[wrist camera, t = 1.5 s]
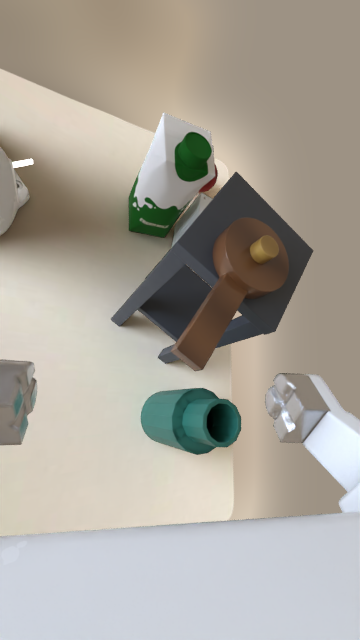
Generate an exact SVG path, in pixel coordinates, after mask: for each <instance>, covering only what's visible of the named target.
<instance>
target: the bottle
mask: <svg viewBox="0 0 360 640" xmlns="http://www.w3.org/2000/svg"><path fill="white" fill-rule="evenodd" d="M141 423H142V427H143V430H144V432H145V433H146V434H147V436H148V437H150V438H151V439H152V440H154V441H157V442H159V443H162V444H166V445H169V446H172V447H175V448H178V449H181V450H184V451H187V452H190V453H193V454H196V455H198V454H204V453H209V452H210V451H211V450H213V449H214V448H216V447H228V446H229V445H231V444H232V443H234V442H235V441H236V440H237V437H238V435H239V433H240V431H241V416H240V414H239V412H238V410H237V407H236V406H235V405H234V404H232V403H231V402H230V401H229V400H227V399H219V398H218V397H217V396H216V395H215V394H214V393H213V392H211V391H209V390H207V389H204V388H194V389H183V390H172V391H161V392H158V393H155V394H154V395H152V396H151V397H149V399H148V400H147V401H146V402H145V404H144V406H143V408H142V412H141Z"/></svg>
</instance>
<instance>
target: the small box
mask: <svg viewBox="0 0 360 640" xmlns="http://www.w3.org/2000/svg"><path fill="white" fill-rule="evenodd" d="M212 199H213V198H210V197H209V196H207V195H205V194H203V193H200V194H199V195H198V197H197V198H196V199H195V200H194V202H193V203H192V204H191V206H190V207H189V208H188V209H187V211H186V212H185V213H184V214H183V216H182V217H181V218H180V220H179V221H178V222H177V223H176V225H175V229H174V235H173V242H172V247H173V246H174V244H175V243H176V242H177V241H178V240H179V239H180V237H181V236H182V235H183V234H184V233H185V231H186V230H187V229H188V228H189V227H190V225H191V224H192V223H193V222H194V221H195V220H196V218H197V217H198V216H199V215H200V214H201V212H202V211H203V210H204V209H205V208H206V206H207V205H208V204H209V203H210V202H211V201H212Z"/></svg>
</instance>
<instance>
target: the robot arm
mask: <svg viewBox="0 0 360 640" xmlns="http://www.w3.org/2000/svg"><path fill="white" fill-rule="evenodd" d="M31 164H33V160H32V159H28V160H22V161H17V162H12V160H11V159H9V158H7V156H6V154H5V152H4V151H3V150H2V148H1V147H0V236H1V235H2V234H3V233H4V232H5V231H6V230H7V229H8V228H9V227H10V226H11V224H12V222H13V220H14V218H15V215H16V212H17V210H18V209H19V208H20V207H21V206H23V205H24V204H25V203H26V202H27V201H28V200H29V192H28V189H27V188H26V186H25V185H24V183H23V182H22V180H21V179H20V177H19V176H18V174H17V173H16V171H15V170H14V168H15V167H21V166H26V165H31ZM17 187H19V188H17ZM34 372H35V368H34V363H33V362H28V361H14V360H0V445H21V444H22V441H23V438H24V435H25V432H26V429H27V426H28V420H27V415H28V414H29V413H31V412H32V411H33V408H34V405H35V401H36V395H37V382H36V380H35V379H34V378H33V374H34ZM273 381H274V384H275V385H274V386H272V387H270V388H269V389H268V392H267V393H266V397H265V404H266V409H267V411H268V414H269V415H270V416H271V417H273V419H275V421H274V425H273V426H274V428H275V430H276V433H277V435H278V437H279V439H280V442H286V443H303V445H304V446H305V447H306V448H307V449H308V451H309V452H310V453H311V454H312V455H313V456H314V457H315V458H316V459H317V460H318V461H319V462H320V463H321V464H322V465H323V466H324V467H325V468H326V469H327V471H328V472H329V473H330V474H331V475H332V476H333V477H334V478H335V479H336V480H337V481H338V482H339V483H340V484H341V485H342V486H343V487H344V488H345V489H346V490H347V492H348V493H347V494H345V495H344V496H343V497H342V498H341V499H340V501H339V505H340V507H341V509H342V512H343V513H335V514H318V515H303V516H289V517H274V518H260V519H246V520H230V521H216V522H201V523H187V524H172V525H157V526H143V527H128V528H114V529H99V530H85V531H70V532H56V533H41V534H26V535H12V536H0V640H360V420H359V419H358V418H357V417H355V416H354V415H352V414H351V413H350V412H345V411H344V410H343V408H342V407H341V405H340V404H339V403H338V401H337V399H336V398H335V397H334V395H333V393H332V392H331V391H330V389H329V388H328V386H327V385H326V383H325V382H324V380H323V379H322V378H321V377H320V376H319V375H311V374H287V373H286V374H285V373H279V374H278V375H276V377H275V378H274V380H273Z"/></svg>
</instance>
